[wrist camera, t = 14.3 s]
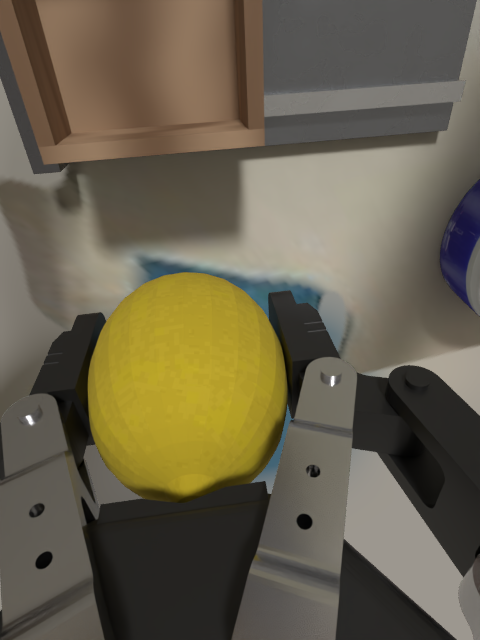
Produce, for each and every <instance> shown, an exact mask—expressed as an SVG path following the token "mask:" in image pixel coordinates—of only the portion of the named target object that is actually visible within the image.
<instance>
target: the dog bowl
mask: <svg viewBox="0 0 480 640" xmlns="http://www.w3.org/2000/svg"><path fill="white" fill-rule="evenodd" d="M440 265H441V270H442V274H443V276H444V279H445V281H446V282H447V284H448V285H449V287H450V288H451V289H452V290H453V291H454V292H455V293H456V294H457V295H458V296H459V297H460V298H461V299H462V300H463V301H464V302H465V303H466V304H467V305H468V306H469V307H470V308H471V309H472V310H473V311H474V312H475V313H476V314H478V315H479V316H480V179H479V180H478V181H477V182H476V184H475V185H474V186H473V187H472V188H471V189H470V190H469V191H468V192H467V194H466V195H465V196H464V198H463V199H462V200H461V202H460V203H459V205H458V206H457V208H456V210H455V211H454V213H453V215H452V217H451V219H450V221H449V223H448V226H447V228H446V230H445V233H444V237H443V240H442V245H441V251H440Z"/></svg>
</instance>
